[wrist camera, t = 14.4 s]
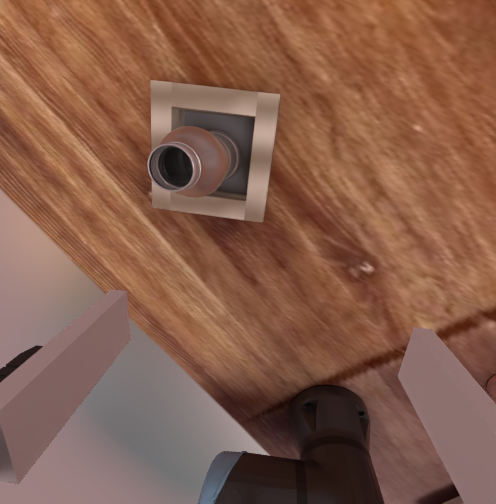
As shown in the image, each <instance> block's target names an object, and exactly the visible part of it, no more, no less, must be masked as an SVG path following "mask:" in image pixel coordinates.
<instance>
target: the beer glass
mask: <svg viewBox="0 0 496 504" xmlns="http://www.w3.org/2000/svg"><path fill="white" fill-rule="evenodd" d="M486 387H487V391H488V393H489V394H490V395H491V396H492V397H493V398H495V399H496V374H495V375H494V376H492V377H491V378H490V379H489V381H488V382H487V386H486Z"/></svg>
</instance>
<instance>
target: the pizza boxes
mask: <svg viewBox="0 0 496 504" xmlns="http://www.w3.org/2000/svg"><path fill="white" fill-rule="evenodd" d="M442 504H464V502H463V500H462V498H461V496H458V497H456V498H454V499H451V500H449V501H447V502H444V503H442Z"/></svg>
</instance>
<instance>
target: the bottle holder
mask: <svg viewBox="0 0 496 504" xmlns="http://www.w3.org/2000/svg"><path fill="white" fill-rule="evenodd" d="M279 106H280V94H272V93H263V92H254V91H245V90H236V89H227V88H218V87H210V86H201V85H192V84H183V83H174V82H165V81H156V80H151V152H152V150H153V149H154V148H156V147H157V146H159V145H160V143H161V142H162V140H163V139H164V138H165V136H166V135H167V134H169V133H170V132H171V131H173V130H175V129H176V128H180V127H183V126H194V127H199V128H202V129H205V130H207V131H211V130H220V131H224V132H227V133H228V134H230V135H232V136H233V137H234V138H235V139H236V140H237V142H238V143H239V145H240V147H241V151H242V164H241V167H240V169H239V171H238V172H237V173H236V174H235V176H233V177H232V178H231V179H228V180H226V181H223V182H222V183H221V185H220V186H219V187H218V188H217V189H216V190H215V191H214V192H212V193H211V194H209V195H206V196H203V197H197V198H192V197H186V196H183V195H180V194H177V193H176V192H170V191H166V190H163V189H161V188H159V187H158V186H157V185H156V184H155V183H154V182H153V181H152V208H158V209H166V210H173V211H180V212H188V213H195V214H202V215H210V216H217V217H224V218H232V219H239V220H246V221H254V222H261V223H263V219H264V214H265V208H266V201H267V193H268V186H269V179H270V171H271V164H272V157H273V150H274V142H275V135H276V128H277V120H278V113H279Z"/></svg>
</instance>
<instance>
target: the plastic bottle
mask: <svg viewBox="0 0 496 504" xmlns="http://www.w3.org/2000/svg"><path fill="white" fill-rule="evenodd" d="M241 164H242V151H241V147H240V145H239V143H238V142H237V140H236V139H235V138H234V137H233V136H232V135H230V134H228V133H227V132H224V131H220V130H211V131H207V130H205V129H202V128H199V127H194V126H183V127H180V128H176V129H175V130H173V131H171V132H170V133H169V134H167V135H166V136H165V138H164V139H163V140H162V142H161V143H160V145H159V146H157V147H156V148H154V149H153V150H152V152H151V153H150V155H149V157H148V161H147V169H148V173H149V176H150V178H151V179H152V181H153V182H154V183H155V184H156V185H157V186H158V187H159V188H161V189H163V190H166V191H170V192H176V193H177V194H180V195H183V196H186V197H192V198H197V197H203V196H206V195H209V194H211V193H212V192H214V191H215V190H216V189H217V188H218V187H219V186H220V185H221V183H222V182H223V181H226V180H228V179H231V178H232V177H233V176H235V174H236V173H237V172H238V171H239V169H240V167H241Z"/></svg>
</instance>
